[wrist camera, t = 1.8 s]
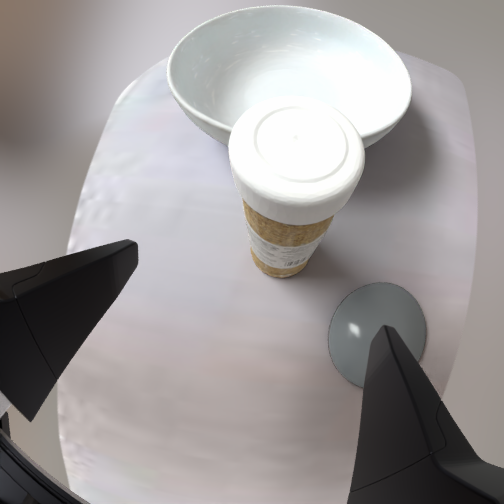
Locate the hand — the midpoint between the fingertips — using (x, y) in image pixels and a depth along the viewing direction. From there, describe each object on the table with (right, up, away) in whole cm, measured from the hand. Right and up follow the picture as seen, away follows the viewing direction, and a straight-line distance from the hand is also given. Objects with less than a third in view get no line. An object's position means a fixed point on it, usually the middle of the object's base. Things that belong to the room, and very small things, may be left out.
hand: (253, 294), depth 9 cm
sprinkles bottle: (+2, +2, +12) cm, 13 cm away
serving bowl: (+3, +16, +16) cm, 23 cm away
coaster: (+9, -5, +10) cm, 15 cm away
